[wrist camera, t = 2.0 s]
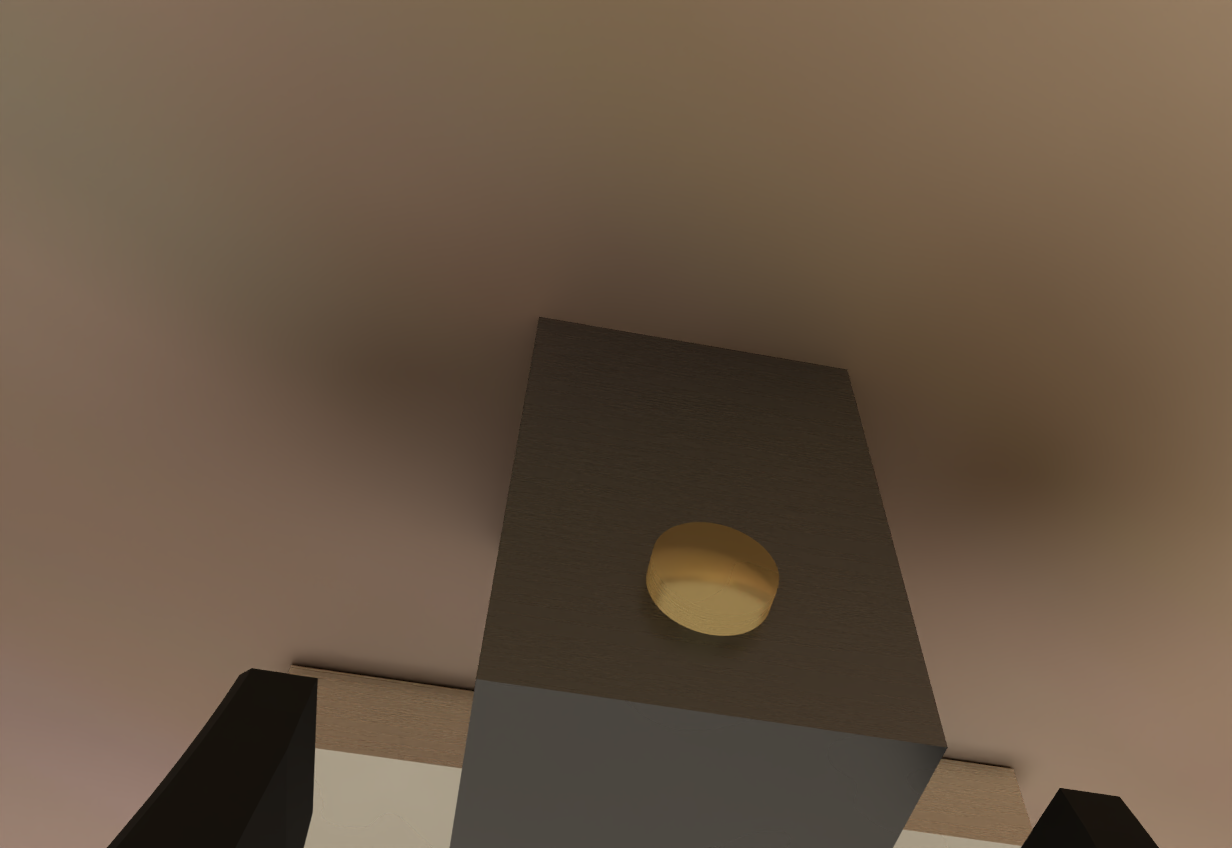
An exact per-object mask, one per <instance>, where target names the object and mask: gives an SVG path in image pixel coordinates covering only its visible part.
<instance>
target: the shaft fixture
mask: <svg viewBox="0 0 1232 848" xmlns="http://www.w3.org/2000/svg"><path fill="white" fill-rule="evenodd" d="M288 674H294V675H300V676H307V677H314V678H318V687H317V713H316V740H315V767H314V794H313V814H312V818H311V822H310V826H309V830H308V834H307V837H306V841H305V845H304V848H450V842H451V835H452V829H453V823H454V816H455V810H456V803H457V797H458V791H459V784H460V778H461V772H462V765H463V759H464V753H465V746H466V740H467V734H468V727H469V721H470V715H471V708H472V702H473V695H474V691H468V690H461V689H454V688H447V687H440V686H433V685H426V684H419V683H413V682H406V681H399V680H392V679H385V678H378V677H371V676H364V675H357V674H350V673H343V672H336V671H329V670H322V669H315V668H308V667H301V666H295V665H291V667H290V670H289V673H288ZM1032 830H1033V829H1032V826H1031V823H1030V820H1029V817H1028V814H1027V811H1026V808H1025V804H1024V801H1023V798H1022V795H1021V792H1020V789H1019V786H1018V783H1017V779H1016V776H1015V773H1014V770H1013V769H1010V768H1003V767H996V766H989V765H982V764H975V763H968V762H961V761H954V760H947V759H941V760H940V762H939V764H938V766H937V768H936V770H935V771H934V773H933V775H932V777H931V779H930V781H929V782H928V784H927V786H926V788H925V790H924V792H923V793H922V795H921V797H920V799H919V801H918V803H917V804H916V806H915V808H914V810H913V812H912V814H911V816H910V817H909V819H908V821H907V823H906V825H905V827H904V828H903V830H902V832H901V834H900V836H899V838H898V839H897V841H896V843H895V845H894V847H893V848H1021V847H1022V845H1023V844H1024V842H1025V840H1026V839H1027V837H1028V836H1029V834H1030V833H1031V831H1032Z"/></svg>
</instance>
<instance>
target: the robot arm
mask: <svg viewBox="0 0 1232 848" xmlns="http://www.w3.org/2000/svg"><path fill="white" fill-rule="evenodd" d="M317 687H318V678H314V677H307V676H300V675H294V674H287V673H280V672H273V671H267V670H260V669H253V668H252V669H250V670H248V671H246V672H244V673H242V674H241V675H239V677H238V678H237V680H236V681H235V683H234V684H233V686H232V687H231V689H230V690H229V692H228V693H227V695H226V696H225V698H224V699H223V701H222V702H221V704H220V705H219V706H218V708H217V709H216V711H215V712H214V713H213V715H212V716H211V718H210V719H209V720H208V722H207V723H206V725H205V726H204V727H203V729H202V730H201V731H200V733H199V734H198V735H197V737H196V738H195V739H194V741H193V742H192V743H191V745H190V746H189V747H188V749H187V750H186V751H185V753H184V754H183V755H182V757H181V758H180V759H179V761H178V762H177V763H176V764H175V766H174V767H173V768H172V769H171V771H170V772H169V773H168V774H167V776H166V777H165V778H164V780H163V781H162V782H161V783H160V785H159V786H158V787H157V788H156V790H155V791H154V792H153V794H152V795H151V796H150V797H149V798H148V800H147V801H146V802H145V803H144V804H143V806H142V807H141V808H140V809H139V810H138V812H137V813H136V814H135V815H134V816H133V818H132V819H131V820H130V821H129V822H128V823H127V825H126V826H125V827H124V828H123V829H122V831H121V832H120V833H119V834H118V835H117V836H116V838H115V839H114V840H113V841H112V842H111V844H110V845H109V846H108V847H107V848H304V845H305V841H306V837H307V834H308V830H309V826H310V822H311V818H312V814H313V794H314V767H315V740H316V713H317ZM1021 848H1159V847H1158V846H1157V845H1156V843H1155V842H1154V841H1153V839H1152V838H1151V837H1150V835H1149V834H1148V833H1147V832H1146V830H1145V829H1144V828H1143V826H1142V825H1141V824H1140V822H1139V821H1138V820H1137V818H1136V817H1135V816H1134V815H1133V813H1132V812H1131V811H1130V809H1129V808H1128V807H1127V806H1126V804H1125V803H1124V802H1123V801H1122V799H1121V798H1120V797H1118V796H1111V795H1104V794H1097V793H1091V792H1084V791H1077V790H1070V789H1064V788H1059V790H1058V792H1057V793H1056V795H1055V796H1054V798H1053V799H1052V801H1051V802H1050V804H1049V805H1048V807H1047V808H1046V810H1045V811H1044V813H1043V814H1042V816H1041V818H1040V819H1039V821H1038V822H1037V824H1036V825H1035V827H1034V828H1033V830H1032V831H1031V833H1030V834H1029V836H1028V837H1027V839H1026V840H1025V842H1024V844H1023V845H1022V847H1021Z"/></svg>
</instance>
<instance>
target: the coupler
mask: <svg viewBox="0 0 1232 848" xmlns="http://www.w3.org/2000/svg"><path fill="white" fill-rule="evenodd" d="M946 749H947V744H946V740H945V736H944V733H943V729H942V725H941V721H940V718H939V714H938V710H937V706H936V702H935V699H934V695H933V691H932V687H931V684H930V680H929V676H928V672H927V669H926V665H925V661H924V657H923V654H922V650H921V646H920V642H919V638H918V635H917V631H916V627H915V623H914V620H913V616H912V612H911V608H910V605H909V601H908V597H907V593H906V589H905V586H904V582H903V578H902V574H901V571H900V567H899V563H898V559H897V556H896V552H895V548H894V544H893V540H892V537H891V533H890V529H889V525H888V522H887V518H886V514H885V510H884V507H883V503H882V499H881V495H880V491H879V488H878V484H877V480H876V476H875V473H874V469H873V465H872V461H871V458H870V454H869V450H868V446H867V442H866V439H865V435H864V431H863V427H862V424H861V420H860V416H859V412H858V409H857V405H856V401H855V397H854V393H853V390H852V386H851V382H850V378H849V375H848V371H847V370H846V369H840V368H834V367H828V366H823V365H817V364H811V363H805V362H799V361H793V360H788V359H782V358H776V357H770V356H764V355H758V354H753V353H747V352H741V351H735V350H729V349H723V348H718V347H712V346H706V345H700V344H694V343H688V342H683V341H677V340H671V339H665V338H659V337H653V336H648V335H642V334H636V333H630V332H624V331H618V330H613V329H607V328H601V327H595V326H589V325H583V324H578V323H572V322H566V321H560V320H554V319H548V318H543V317H539V321H538V327H537V333H536V338H535V344H534V350H533V356H532V361H531V367H530V373H529V379H528V384H527V390H526V396H525V402H524V407H523V413H522V419H521V424H520V430H519V436H518V442H517V447H516V453H515V459H514V465H513V470H512V476H511V482H510V487H509V493H508V499H507V505H506V510H505V516H504V522H503V528H502V533H501V539H500V545H499V551H498V556H497V562H496V568H495V573H494V579H493V585H492V591H491V596H490V602H489V608H488V614H487V619H486V625H485V631H484V637H483V642H482V648H481V654H480V659H479V665H478V671H477V677H476V683H475V689H474V695H473V702H472V708H471V715H470V721H469V727H468V734H467V740H466V746H465V753H464V759H463V765H462V772H461V778H460V784H459V791H458V797H457V803H456V810H455V816H454V823H453V829H452V835H451V842H450V848H893V847H894V845H895V843H896V841H897V839H898V838H899V836H900V834H901V832H902V830H903V828H904V827H905V825H906V823H907V821H908V819H909V817H910V816H911V814H912V812H913V810H914V808H915V806H916V804H917V803H918V801H919V799H920V797H921V795H922V793H923V792H924V790H925V788H926V786H927V784H928V782H929V781H930V779H931V777H932V775H933V773H934V771H935V770H936V768H937V766H938V764H939V762H940V760H941V758H942V757H943V755H944V753H945V751H946Z"/></svg>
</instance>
